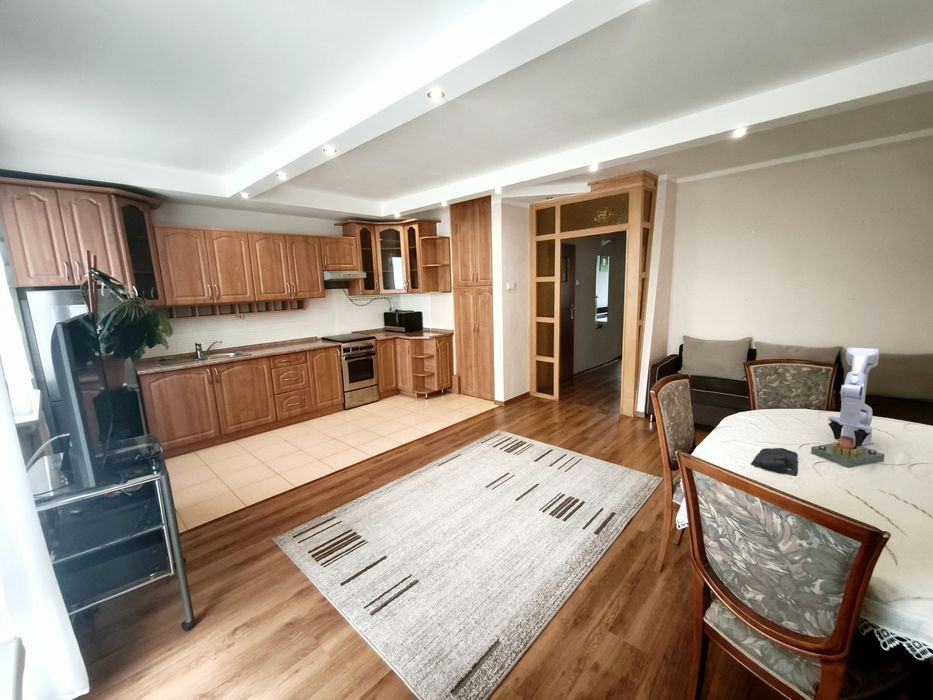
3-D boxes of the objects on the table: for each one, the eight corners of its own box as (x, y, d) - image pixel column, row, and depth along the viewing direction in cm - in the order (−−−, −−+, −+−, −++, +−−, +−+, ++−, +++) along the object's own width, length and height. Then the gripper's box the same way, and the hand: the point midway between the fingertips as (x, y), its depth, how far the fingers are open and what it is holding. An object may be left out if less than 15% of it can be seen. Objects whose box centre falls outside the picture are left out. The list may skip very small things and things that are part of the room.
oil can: (844, 450, 161) (846, 433, 159) (856, 455, 157) (857, 437, 155) (835, 452, 160) (837, 434, 159) (846, 456, 156) (848, 438, 155)
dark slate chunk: (804, 458, 161) (805, 448, 160) (796, 478, 147) (796, 467, 146) (760, 449, 172) (761, 439, 171) (748, 467, 158) (749, 456, 157)
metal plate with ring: (844, 447, 167) (845, 436, 166) (883, 461, 153) (885, 449, 152) (811, 453, 164) (811, 442, 163) (847, 467, 151) (848, 456, 150)
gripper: (823, 408, 162) (821, 437, 164) (863, 419, 148) (860, 450, 150) (836, 406, 163) (834, 435, 165) (877, 416, 149) (874, 448, 151)
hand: (847, 442), depth 158 cm, fingers open, 7 cm apart
